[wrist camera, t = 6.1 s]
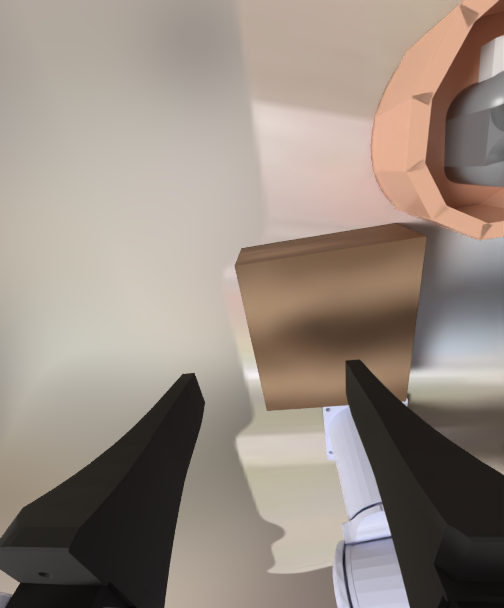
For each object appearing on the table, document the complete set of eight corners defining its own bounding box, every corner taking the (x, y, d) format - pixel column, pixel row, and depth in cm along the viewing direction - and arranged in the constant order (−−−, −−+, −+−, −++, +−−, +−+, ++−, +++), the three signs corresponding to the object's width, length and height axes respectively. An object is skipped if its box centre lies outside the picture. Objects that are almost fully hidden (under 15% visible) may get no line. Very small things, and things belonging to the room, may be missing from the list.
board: (386, 366, 24) (406, 401, 20) (267, 376, 25) (267, 410, 22) (396, 223, 18) (426, 236, 14) (241, 248, 19) (234, 265, 16)
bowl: (540, 204, 17) (637, 217, 12) (368, 232, 18) (399, 252, 14) (614, -37, 12) (816, -159, 7) (373, 29, 13) (422, -41, 9)
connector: (490, 176, 16) (542, 178, 13) (443, 189, 16) (482, 194, 13) (504, 42, 13) (575, 3, 10) (447, 62, 13) (498, 32, 10)
